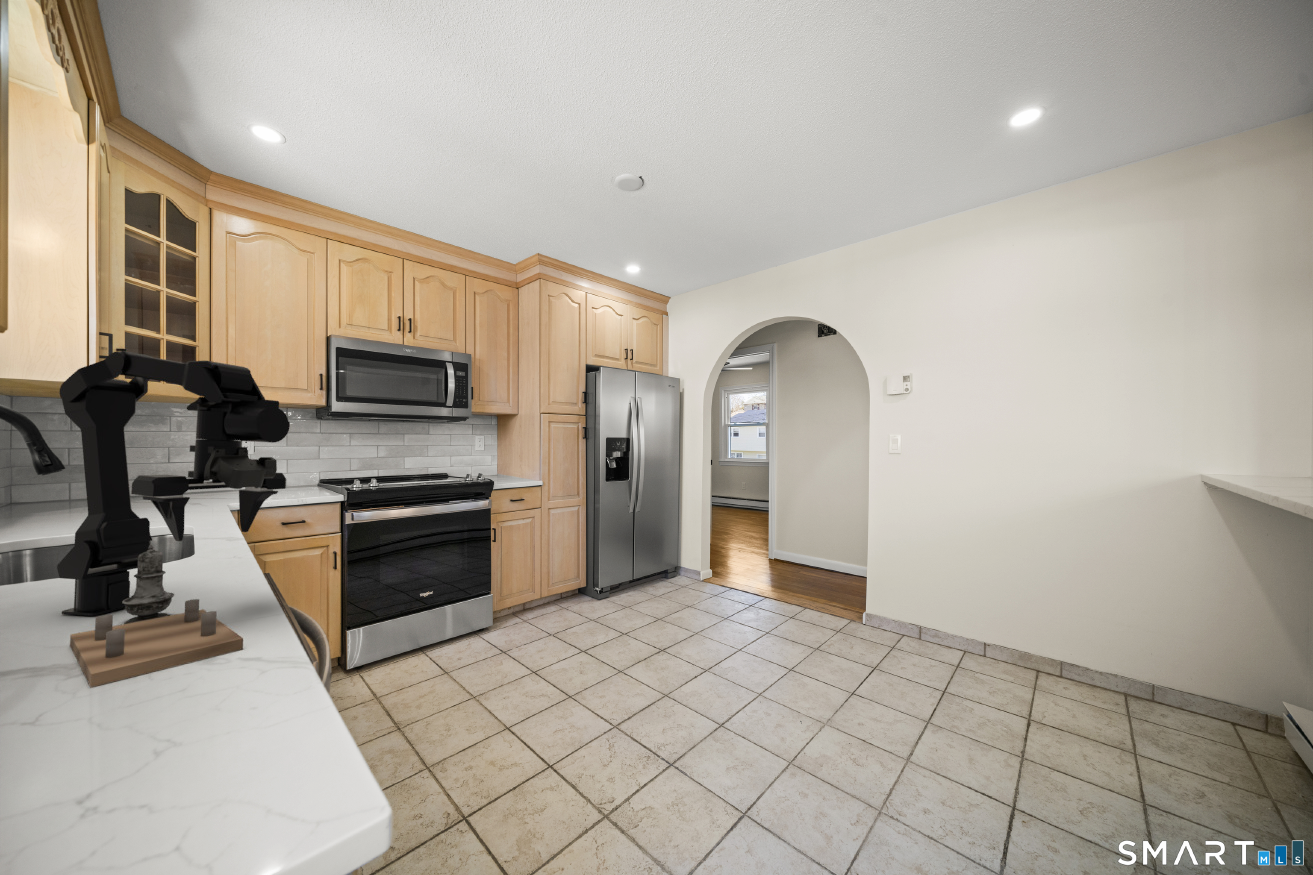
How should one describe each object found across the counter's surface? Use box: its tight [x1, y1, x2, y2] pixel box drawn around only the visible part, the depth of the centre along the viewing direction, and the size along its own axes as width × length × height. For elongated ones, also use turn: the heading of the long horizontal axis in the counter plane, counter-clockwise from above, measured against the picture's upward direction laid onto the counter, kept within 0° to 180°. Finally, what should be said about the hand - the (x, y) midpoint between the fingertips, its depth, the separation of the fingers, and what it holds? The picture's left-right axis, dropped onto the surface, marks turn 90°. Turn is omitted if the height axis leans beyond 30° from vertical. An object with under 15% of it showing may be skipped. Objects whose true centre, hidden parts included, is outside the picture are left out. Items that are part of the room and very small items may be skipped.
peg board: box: [69, 598, 244, 688], centre depth 69 cm, size 20×14×4 cm
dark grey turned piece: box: [122, 544, 175, 624], centre depth 80 cm, size 6×6×12 cm
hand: (213, 536), depth 81 cm, fingers open, 9 cm apart
